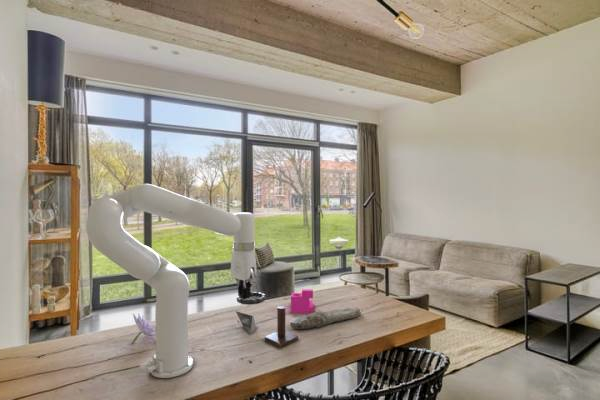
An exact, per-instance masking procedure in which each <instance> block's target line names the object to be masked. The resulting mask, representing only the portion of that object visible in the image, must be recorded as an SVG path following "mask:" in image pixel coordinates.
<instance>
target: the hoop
mask: <svg viewBox="0 0 600 400" xmlns="http://www.w3.org/2000/svg"><path fill="white" fill-rule="evenodd" d="M251 297H255V298H256V299H243V296H242V294H240V295H239V296H238V295H237V296H236V298H235V299H236V302H237V303H238V304H241V305H248V306H251V305H259V304H262V303H264V302H265V301H266V300H267V296H266V294H265V293H262V292H259V291H251ZM251 297H250V298H251Z"/></svg>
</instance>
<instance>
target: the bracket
mask: <svg viewBox="0 0 600 400" xmlns="http://www.w3.org/2000/svg"><path fill="white" fill-rule="evenodd" d="M310 299H311V300H310ZM312 299H314V289H311V288H309V289H304V288H303V289H301V292H291V294H290V313H291V314H310V313H313V312H314V303H313V300H312Z"/></svg>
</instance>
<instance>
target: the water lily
mask: <svg viewBox="0 0 600 400" xmlns="http://www.w3.org/2000/svg"><path fill="white" fill-rule="evenodd" d="M137 314H138V315H137V316H136V315H135V314H134V313H133V314H132V316H133V319H134V323H135V325H136V327H137V328H138V329H139V331H140V332H139V333H138V334H137V335H136V336H135V338H134V339H133V341H132V342H131V343H132V344H135V343H136V340H137V339H138V338H139V337H140V335H141V334H143V335H144V336H145V337H146V338H148V339H150V341H154V342H156V337H153V336H156V325H153V326H152V325H150V319H149V318H147V319H146V320H144V319H145V317H144V316H142V317H141V315H140V313H137Z"/></svg>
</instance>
